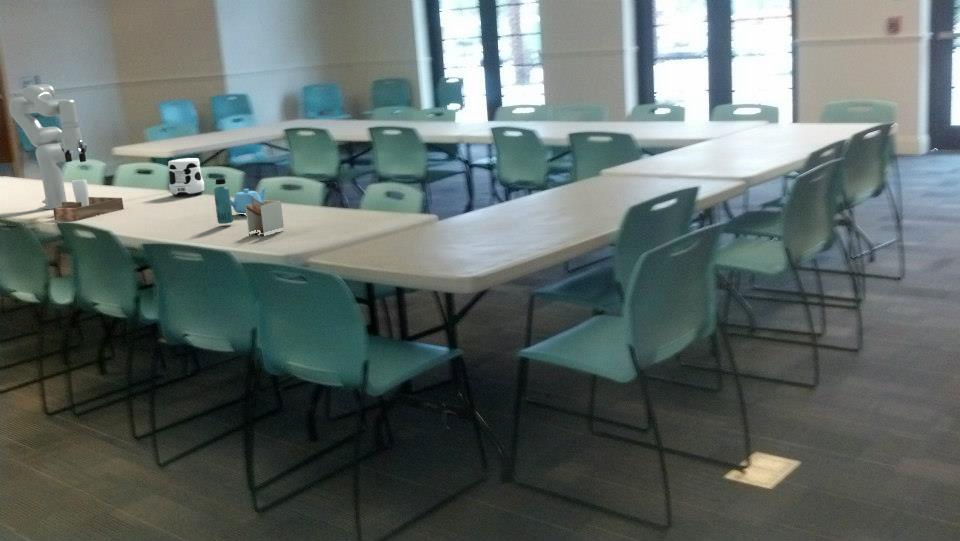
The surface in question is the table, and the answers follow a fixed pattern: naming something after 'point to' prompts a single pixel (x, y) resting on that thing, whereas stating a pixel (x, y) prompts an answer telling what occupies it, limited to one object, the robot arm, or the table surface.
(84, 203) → the white cup
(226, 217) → the beverage bottle
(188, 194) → the milk container
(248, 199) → the teapot
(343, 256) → the table surface
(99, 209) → the angular wooden frame
